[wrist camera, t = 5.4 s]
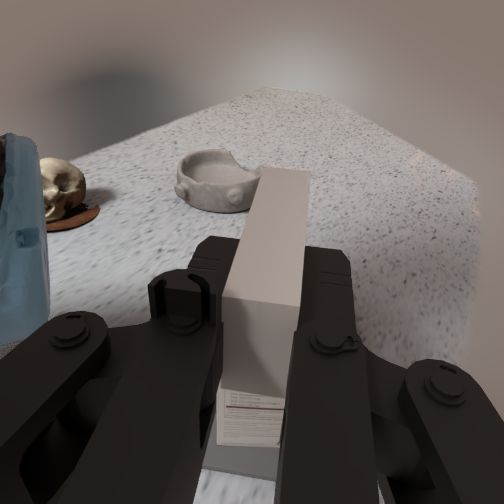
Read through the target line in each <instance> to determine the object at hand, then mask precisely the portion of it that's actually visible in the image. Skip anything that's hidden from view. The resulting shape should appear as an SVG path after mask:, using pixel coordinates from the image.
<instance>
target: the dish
mask: <svg viewBox="0 0 504 504" xmlns="http://www.w3.org/2000/svg"><path fill="white" fill-rule="evenodd" d="M263 168H264V167H263V166H262V165H259V166H258V167H257V169H256V170H254V171H252V172H248V171H246V170H244V169H242V168H241V167H240V166H239V164H238V163H237V162H236V161H235V159H234V158H233V156H232V155H231V152H230V151H227V150H216V149H211V150H202V151H198V152H195V153H190V154H188V155H186V156H185V158H183V159H181V161H180V162H179V164H178V169H177V184H176V185H175V187H174V188H175V192H176V194H177V195H178V197H179V198H181V199H183V200H184V201H185V202H186V203H187V204H189V205H191V206H193V207H195V208H198V209H202V210H206V211H212V212H223V213H231V212H238V211H243V210H246V209H249V208H251V205H252V202H253V199H254V196H255V193H256V190H257V187H258V183H259V180H260V177H261V174H262V171H263Z"/></svg>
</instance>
